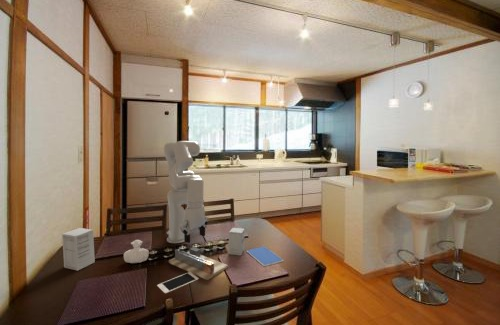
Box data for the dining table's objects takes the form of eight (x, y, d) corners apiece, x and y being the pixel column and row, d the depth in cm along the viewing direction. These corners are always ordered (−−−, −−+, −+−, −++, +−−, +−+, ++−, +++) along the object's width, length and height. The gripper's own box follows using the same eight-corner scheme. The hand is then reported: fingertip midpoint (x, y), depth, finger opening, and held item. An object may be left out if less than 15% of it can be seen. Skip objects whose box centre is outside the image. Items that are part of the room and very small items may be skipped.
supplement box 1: (95, 262, 127) (94, 229, 126) (77, 271, 119) (76, 236, 117) (81, 259, 130) (80, 227, 129) (63, 267, 122) (61, 233, 120)
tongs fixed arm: (174, 258, 130) (173, 250, 129) (178, 257, 132) (177, 248, 131) (210, 274, 115) (210, 264, 115) (214, 272, 117) (214, 262, 117)
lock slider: (189, 255, 133) (189, 248, 133) (193, 253, 136) (193, 246, 135) (196, 257, 130) (196, 251, 130) (200, 255, 133) (200, 249, 132)
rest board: (168, 262, 128) (168, 260, 128) (189, 252, 139) (189, 250, 139) (207, 280, 113) (207, 277, 113) (227, 267, 124) (227, 265, 124)
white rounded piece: (149, 263, 132) (150, 241, 137) (147, 260, 125) (149, 237, 131) (124, 265, 129) (126, 243, 134) (121, 262, 122) (123, 239, 128)
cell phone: (156, 286, 108) (156, 284, 108) (190, 272, 119) (190, 271, 119) (165, 294, 103) (165, 293, 103) (199, 279, 114) (199, 278, 114)
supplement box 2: (241, 255, 137) (241, 233, 136) (228, 254, 138) (228, 231, 137) (244, 250, 144) (244, 228, 143) (231, 248, 146) (232, 227, 144)
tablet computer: (284, 262, 132) (284, 259, 131) (263, 267, 125) (263, 265, 125) (264, 248, 148) (264, 245, 148) (245, 252, 142) (245, 250, 142)
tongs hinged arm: (180, 259, 129) (180, 251, 129) (182, 258, 130) (182, 250, 130) (212, 272, 117) (212, 264, 116) (214, 271, 117) (214, 263, 117)
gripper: (202, 198, 129) (202, 231, 131) (175, 206, 115) (175, 242, 117) (213, 201, 125) (213, 234, 127) (186, 209, 111) (186, 247, 113)
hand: (195, 238), depth 122 cm, fingers open, 9 cm apart
